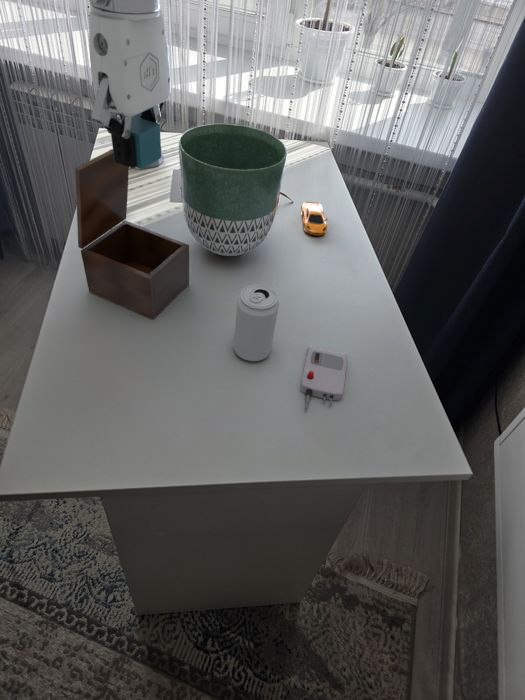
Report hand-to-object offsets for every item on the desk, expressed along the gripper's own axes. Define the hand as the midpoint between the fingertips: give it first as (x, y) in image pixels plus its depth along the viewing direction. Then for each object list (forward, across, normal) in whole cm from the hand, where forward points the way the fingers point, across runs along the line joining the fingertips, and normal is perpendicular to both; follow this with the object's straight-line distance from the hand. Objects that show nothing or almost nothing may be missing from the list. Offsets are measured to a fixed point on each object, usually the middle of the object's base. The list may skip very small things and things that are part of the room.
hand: (137, 156), depth 65 cm
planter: (+27, +24, -3) cm, 36 cm away
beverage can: (+27, -1, -21) cm, 34 cm away
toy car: (+27, +44, -14) cm, 53 cm away
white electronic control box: (+27, 0, -34) cm, 43 cm away
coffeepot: (+27, +46, +35) cm, 64 cm away
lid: (+10, +3, +9) cm, 14 cm away
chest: (+27, +3, +4) cm, 27 cm away
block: (0, 0, 0) cm, 0 cm away
